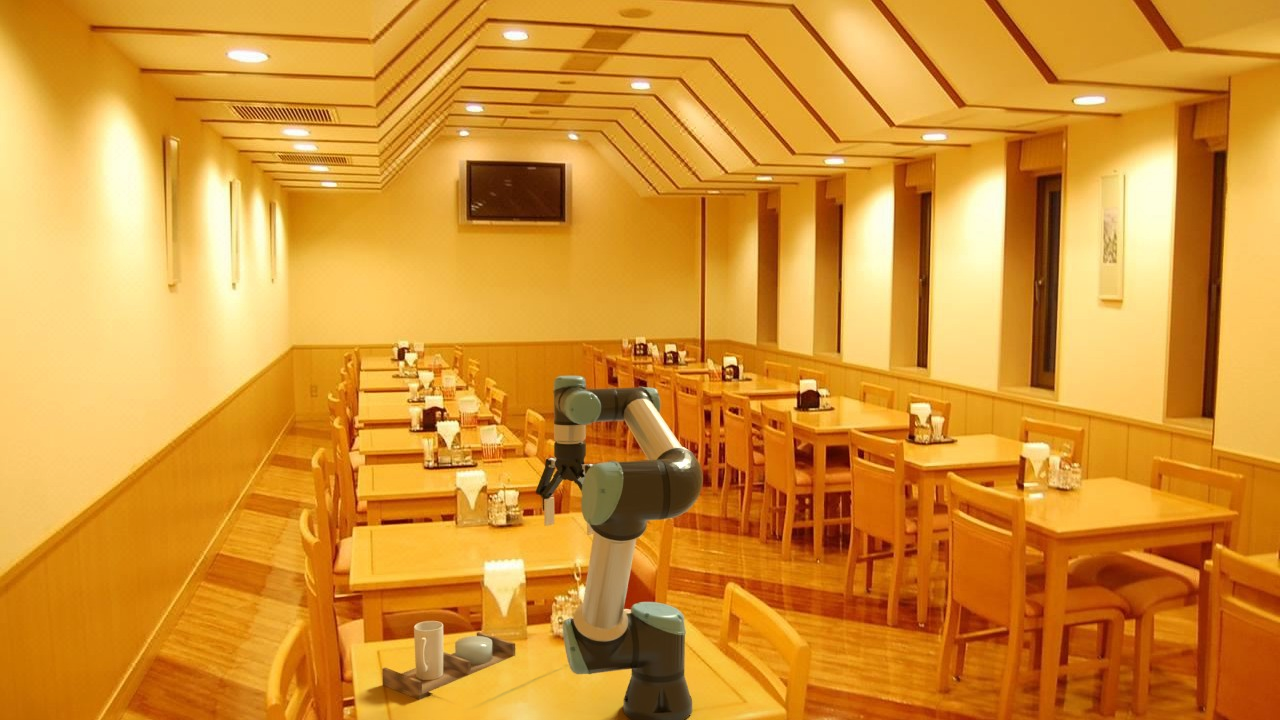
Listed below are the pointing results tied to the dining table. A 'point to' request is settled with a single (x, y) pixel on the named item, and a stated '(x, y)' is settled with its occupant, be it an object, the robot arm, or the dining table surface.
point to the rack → (445, 670)
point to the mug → (428, 650)
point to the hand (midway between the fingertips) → (570, 529)
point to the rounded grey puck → (474, 649)
